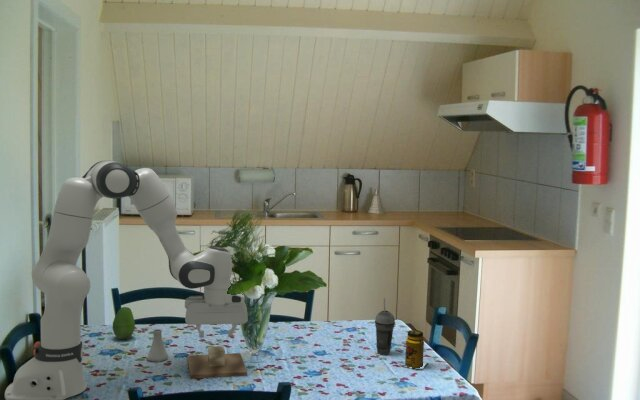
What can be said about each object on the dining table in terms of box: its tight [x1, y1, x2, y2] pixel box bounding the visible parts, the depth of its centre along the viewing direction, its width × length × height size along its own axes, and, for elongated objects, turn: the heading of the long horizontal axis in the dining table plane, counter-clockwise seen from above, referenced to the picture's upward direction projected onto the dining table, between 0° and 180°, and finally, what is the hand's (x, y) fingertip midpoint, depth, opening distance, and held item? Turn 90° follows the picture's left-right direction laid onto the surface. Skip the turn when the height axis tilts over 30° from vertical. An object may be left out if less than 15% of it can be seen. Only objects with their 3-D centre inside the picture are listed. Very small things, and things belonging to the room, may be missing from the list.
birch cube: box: [207, 345, 226, 367], centre depth 228 cm, size 5×5×5 cm
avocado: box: [112, 306, 136, 340], centre depth 253 cm, size 8×8×12 cm
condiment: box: [404, 329, 425, 368], centre depth 235 cm, size 7×8×12 cm
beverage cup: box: [374, 297, 396, 356], centre depth 246 cm, size 7×7×20 cm
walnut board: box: [187, 352, 248, 380], centre depth 228 cm, size 18×18×1 cm
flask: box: [146, 328, 169, 362], centre depth 234 cm, size 7×7×10 cm
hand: (216, 336), depth 226 cm, fingers open, 8 cm apart
